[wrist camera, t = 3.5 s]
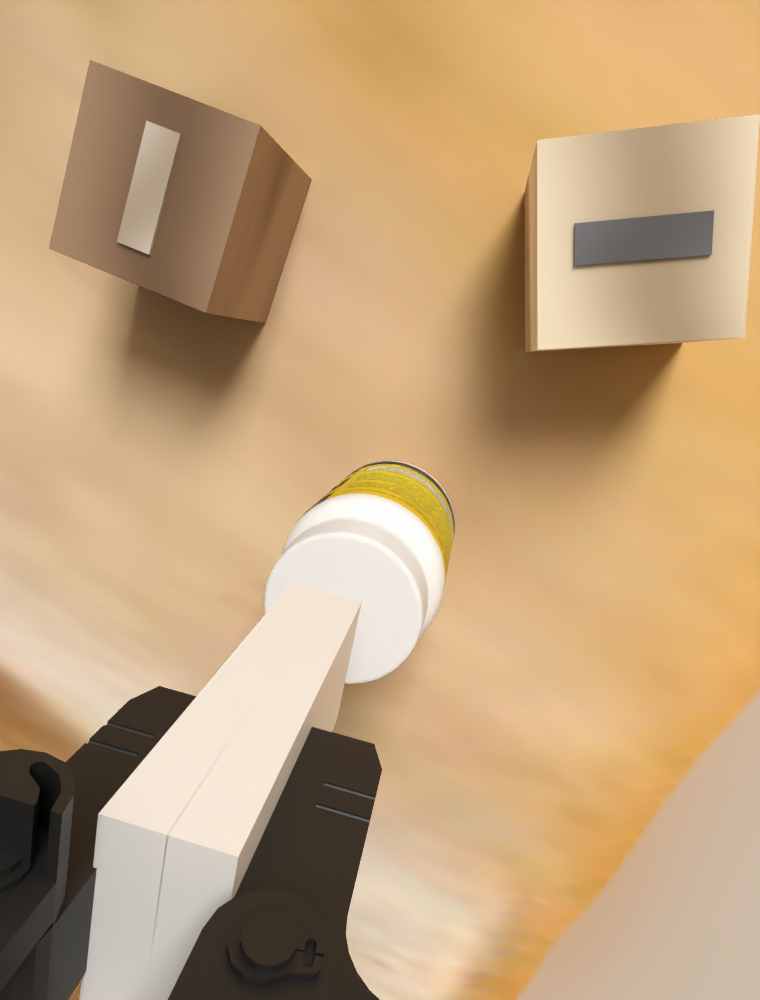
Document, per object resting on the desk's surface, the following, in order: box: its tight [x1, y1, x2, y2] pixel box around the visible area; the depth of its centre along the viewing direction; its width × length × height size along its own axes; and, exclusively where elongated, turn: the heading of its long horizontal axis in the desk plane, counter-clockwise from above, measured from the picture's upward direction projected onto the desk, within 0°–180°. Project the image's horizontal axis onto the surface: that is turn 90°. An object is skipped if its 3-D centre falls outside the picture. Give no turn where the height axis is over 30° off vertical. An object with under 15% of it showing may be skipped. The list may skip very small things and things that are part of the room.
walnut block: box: [49, 60, 311, 323], centre depth 19 cm, size 5×5×5 cm
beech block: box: [524, 114, 760, 352], centre depth 17 cm, size 5×5×5 cm
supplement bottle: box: [264, 461, 455, 684], centre depth 19 cm, size 5×5×8 cm
